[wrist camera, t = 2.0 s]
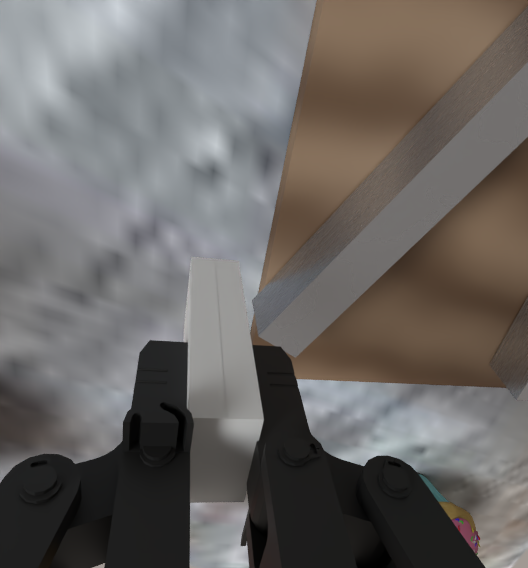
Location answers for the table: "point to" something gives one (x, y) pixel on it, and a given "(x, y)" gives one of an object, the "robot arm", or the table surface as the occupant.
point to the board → (361, 163)
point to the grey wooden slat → (403, 195)
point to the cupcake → (457, 517)
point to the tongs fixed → (514, 356)
